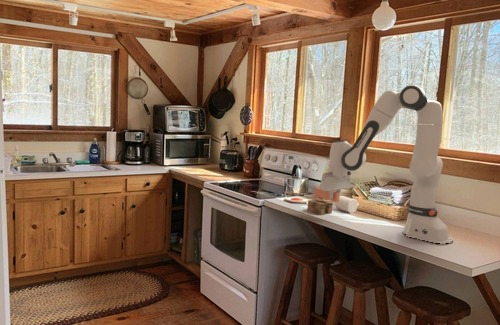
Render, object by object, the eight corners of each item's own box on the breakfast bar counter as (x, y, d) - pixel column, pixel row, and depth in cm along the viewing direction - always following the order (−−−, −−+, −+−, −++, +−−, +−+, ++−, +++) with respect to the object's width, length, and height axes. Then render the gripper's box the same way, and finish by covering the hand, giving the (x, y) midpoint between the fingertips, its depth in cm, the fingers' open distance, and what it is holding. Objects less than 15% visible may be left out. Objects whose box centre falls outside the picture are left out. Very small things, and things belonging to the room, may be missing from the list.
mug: (347, 213, 248) (348, 199, 247) (334, 209, 256) (335, 196, 255) (361, 212, 255) (363, 198, 253) (348, 208, 263) (349, 194, 262)
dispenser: (331, 213, 246) (332, 202, 245) (320, 215, 240) (321, 204, 239) (318, 209, 253) (318, 199, 252) (307, 211, 247) (308, 200, 247)
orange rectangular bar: (339, 201, 228) (339, 193, 228) (336, 202, 227) (337, 193, 226) (317, 195, 240) (317, 187, 239) (314, 195, 238) (315, 187, 238)
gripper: (328, 173, 218) (325, 201, 220) (353, 171, 232) (351, 197, 233) (318, 171, 223) (316, 198, 225) (344, 169, 236) (341, 195, 238)
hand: (334, 198), depth 229 cm, fingers closed on orange rectangular bar, 2 cm apart
